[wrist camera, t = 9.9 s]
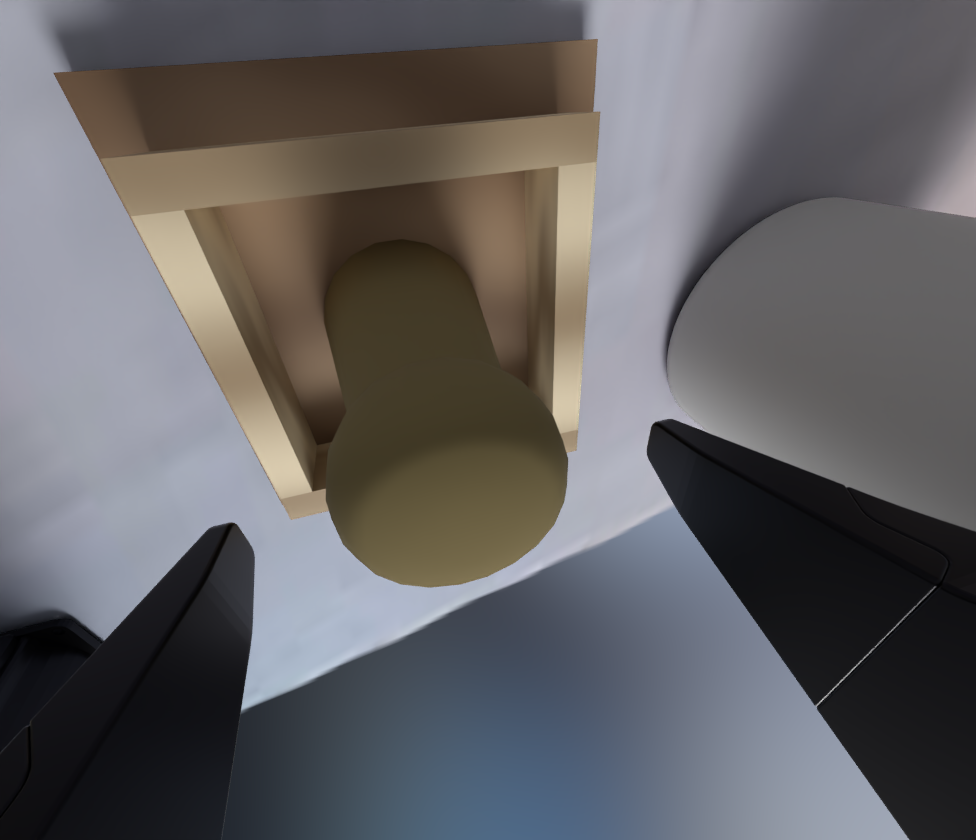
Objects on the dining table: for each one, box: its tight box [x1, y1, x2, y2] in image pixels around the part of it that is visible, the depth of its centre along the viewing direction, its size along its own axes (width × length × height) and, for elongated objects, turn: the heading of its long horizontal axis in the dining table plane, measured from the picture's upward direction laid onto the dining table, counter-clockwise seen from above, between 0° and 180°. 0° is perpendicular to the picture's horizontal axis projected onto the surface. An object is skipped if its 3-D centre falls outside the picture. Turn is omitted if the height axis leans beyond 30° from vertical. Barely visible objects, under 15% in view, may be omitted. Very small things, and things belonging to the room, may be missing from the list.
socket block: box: [54, 39, 600, 520], centre depth 16 cm, size 16×15×4 cm
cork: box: [324, 239, 568, 587], centre depth 12 cm, size 6×6×11 cm
